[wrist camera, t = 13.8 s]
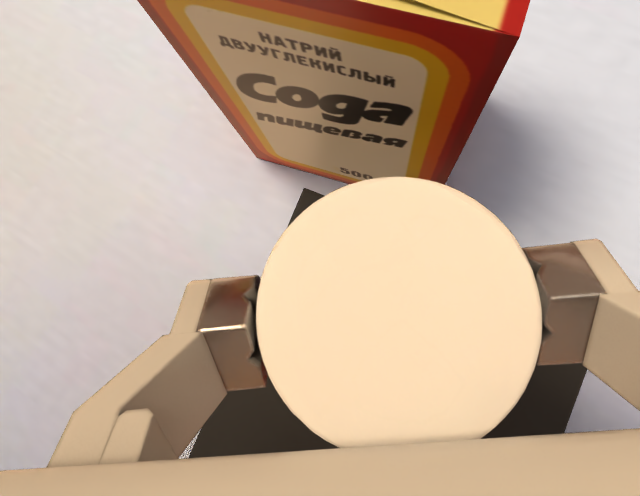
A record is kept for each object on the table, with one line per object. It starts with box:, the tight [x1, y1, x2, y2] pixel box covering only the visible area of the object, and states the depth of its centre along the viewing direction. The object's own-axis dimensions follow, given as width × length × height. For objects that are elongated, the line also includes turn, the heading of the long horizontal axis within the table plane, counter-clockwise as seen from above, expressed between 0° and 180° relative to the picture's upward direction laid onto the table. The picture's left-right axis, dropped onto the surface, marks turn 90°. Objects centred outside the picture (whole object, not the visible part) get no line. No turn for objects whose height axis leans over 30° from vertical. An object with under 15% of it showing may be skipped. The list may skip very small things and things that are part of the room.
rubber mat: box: [189, 188, 587, 458], centre depth 24 cm, size 20×16×1 cm
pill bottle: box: [256, 177, 542, 448], centre depth 12 cm, size 5×5×10 cm
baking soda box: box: [138, 0, 530, 185], centre depth 18 cm, size 10×6×16 cm
